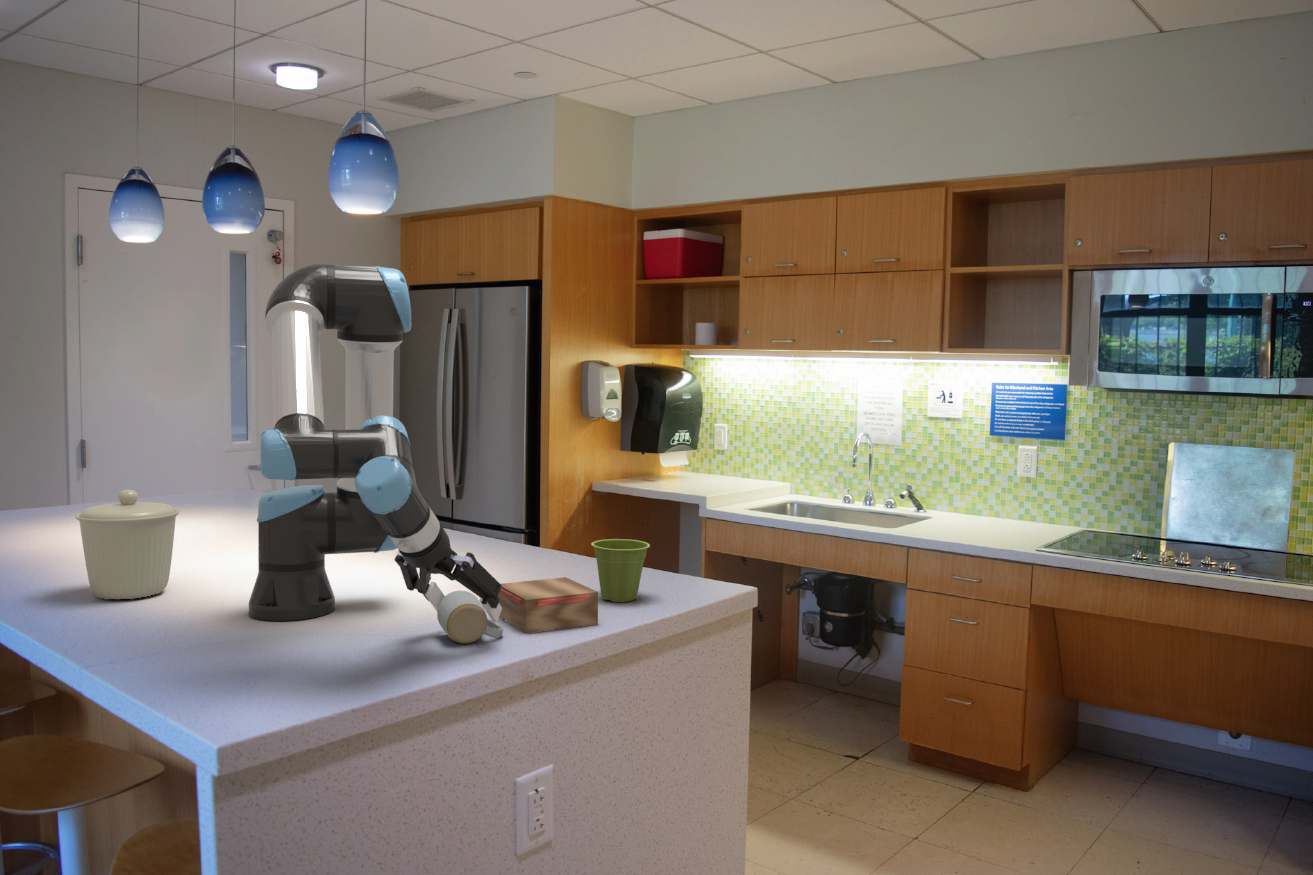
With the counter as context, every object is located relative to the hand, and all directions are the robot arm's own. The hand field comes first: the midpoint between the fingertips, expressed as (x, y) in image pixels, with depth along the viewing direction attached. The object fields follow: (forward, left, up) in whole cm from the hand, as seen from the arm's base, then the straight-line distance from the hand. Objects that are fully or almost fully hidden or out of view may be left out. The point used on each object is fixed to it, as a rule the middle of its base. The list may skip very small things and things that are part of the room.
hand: (470, 611), depth 168 cm
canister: (-50, +58, -4) cm, 77 cm away
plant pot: (+36, +12, -4) cm, 38 cm away
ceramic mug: (-1, -2, -4) cm, 5 cm away
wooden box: (+16, +3, -4) cm, 16 cm away
